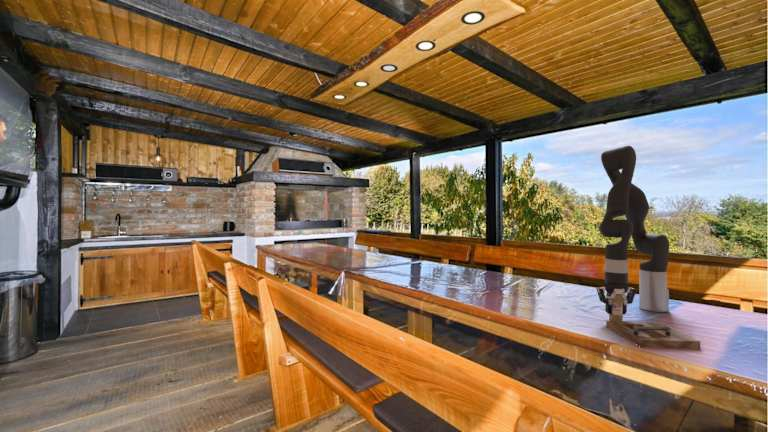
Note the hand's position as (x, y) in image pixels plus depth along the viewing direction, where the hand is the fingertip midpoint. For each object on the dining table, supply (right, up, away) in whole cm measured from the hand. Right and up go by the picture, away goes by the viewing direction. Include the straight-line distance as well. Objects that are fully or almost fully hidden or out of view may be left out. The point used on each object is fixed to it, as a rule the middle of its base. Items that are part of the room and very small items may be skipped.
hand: (615, 313), depth 127 cm
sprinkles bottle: (0, -3, 0) cm, 3 cm away
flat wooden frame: (+1, -4, -15) cm, 15 cm away
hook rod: (-2, -1, -19) cm, 19 cm away
